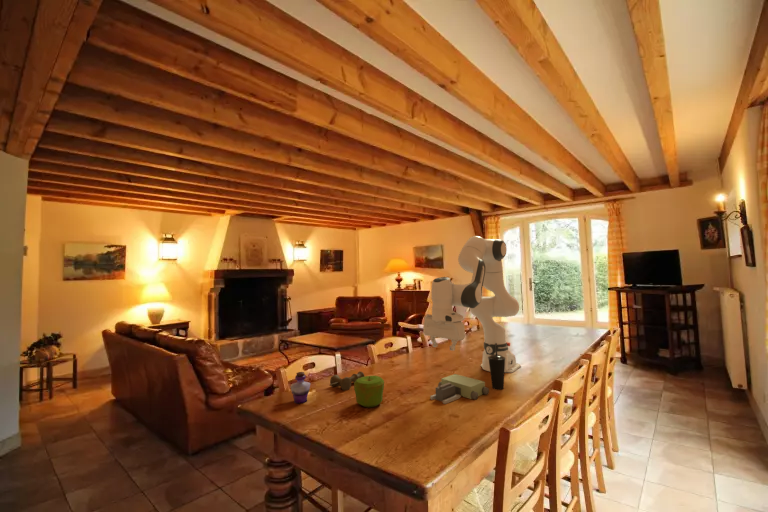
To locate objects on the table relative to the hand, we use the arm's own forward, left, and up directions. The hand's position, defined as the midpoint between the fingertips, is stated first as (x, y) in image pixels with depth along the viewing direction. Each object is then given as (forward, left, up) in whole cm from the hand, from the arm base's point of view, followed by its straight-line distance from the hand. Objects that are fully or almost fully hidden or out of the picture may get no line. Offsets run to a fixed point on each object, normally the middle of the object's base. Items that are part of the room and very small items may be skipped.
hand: (443, 348), depth 146 cm
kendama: (+21, -43, -21) cm, 52 cm away
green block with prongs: (-6, 0, -21) cm, 22 cm away
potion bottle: (+46, -40, -21) cm, 64 cm away
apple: (+27, -17, -21) cm, 38 cm away
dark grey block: (0, 0, -21) cm, 21 cm away
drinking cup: (-27, +8, -21) cm, 35 cm away
